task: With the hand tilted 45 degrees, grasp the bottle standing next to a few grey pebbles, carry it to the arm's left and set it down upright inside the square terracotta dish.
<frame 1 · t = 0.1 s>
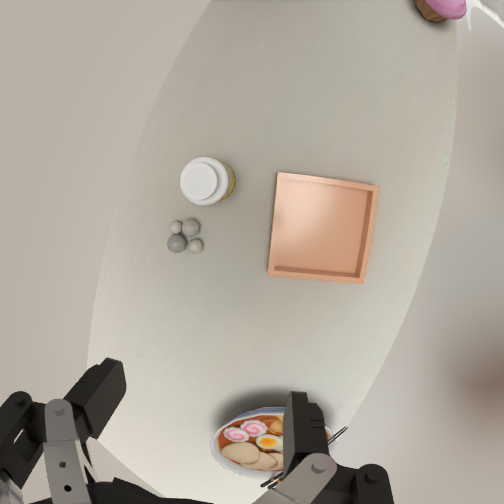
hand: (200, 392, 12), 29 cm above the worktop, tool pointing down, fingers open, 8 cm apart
ramen bowl: (273, 424, 49), on the worktop
pebbles: (188, 235, 40), on the worktop
terracotta dish: (321, 227, 39), on the worktop
cupcake: (426, 12, 28), on the worktop
supplement bottle: (216, 180, 38), on the worktop
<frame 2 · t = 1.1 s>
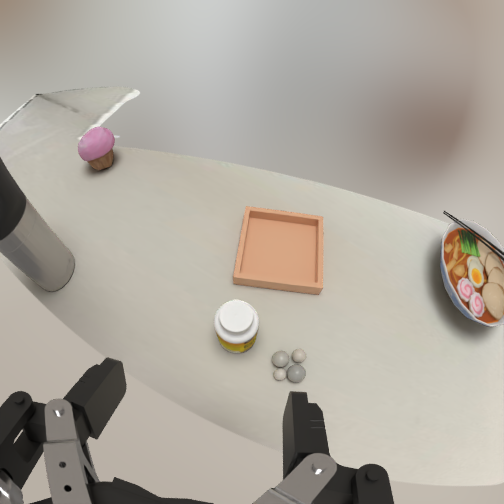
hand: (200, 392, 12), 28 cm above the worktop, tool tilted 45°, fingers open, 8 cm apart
ramen bowl: (462, 285, 46), on the worktop
pebbles: (288, 365, 39), on the worktop
terracotta dish: (280, 252, 48), on the worktop
cupcake: (104, 165, 59), on the worktop
supplement bottle: (237, 336, 41), on the worktop
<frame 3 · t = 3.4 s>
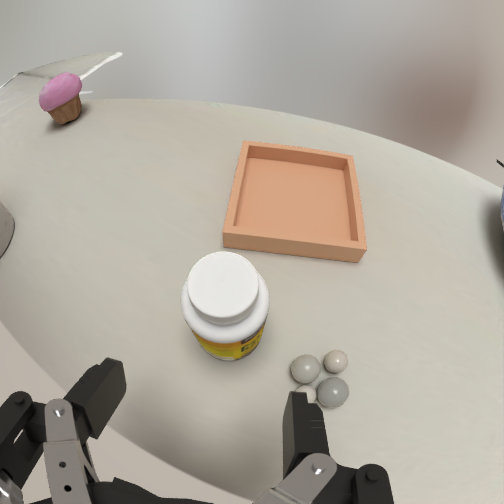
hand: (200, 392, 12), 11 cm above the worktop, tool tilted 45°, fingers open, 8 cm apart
pebbles: (318, 378, 22), on the worktop
terracotta dish: (295, 202, 31), on the worktop
cupcake: (70, 119, 42), on the worktop
supplement bottle: (229, 331, 24), on the worktop
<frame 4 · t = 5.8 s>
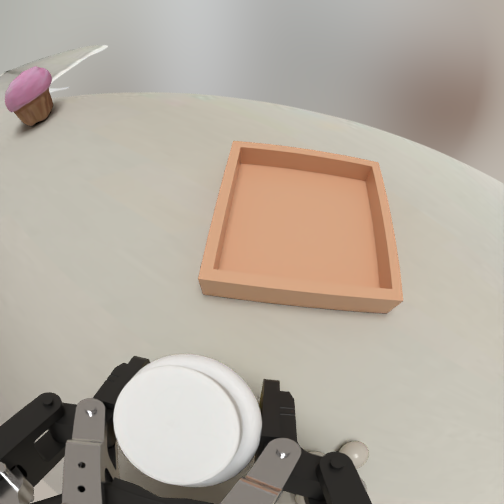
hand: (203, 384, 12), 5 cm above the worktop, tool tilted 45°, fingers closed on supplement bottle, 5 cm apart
pebbles: (328, 472, 14), on the worktop
terracotta dish: (303, 226, 23), on the worktop
cupcake: (40, 119, 34), on the worktop
supplement bottle: (210, 414, 16), on the worktop, touching gripper
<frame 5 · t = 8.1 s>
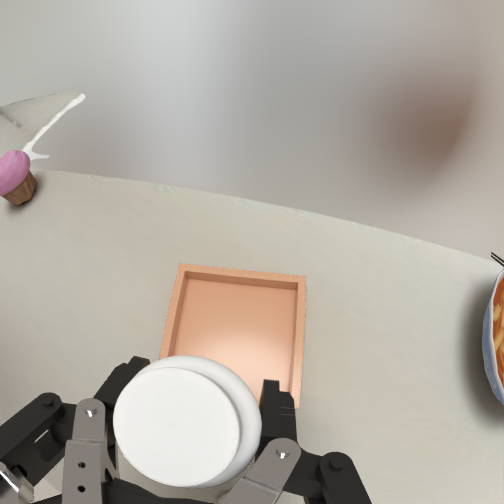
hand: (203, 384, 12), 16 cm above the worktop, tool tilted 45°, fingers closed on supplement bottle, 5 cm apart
ramen bowl: (502, 352, 27), on the worktop
terracotta dish: (234, 338, 29), on the worktop
cupcake: (26, 196, 40), on the worktop
supplement bottle: (210, 415, 16), point 11 cm above the worktop, touching gripper
when the fingers open (7 cm above the worktop, at t = 10.8 s): supplement bottle drops 1 cm, resting on terracotta dish.
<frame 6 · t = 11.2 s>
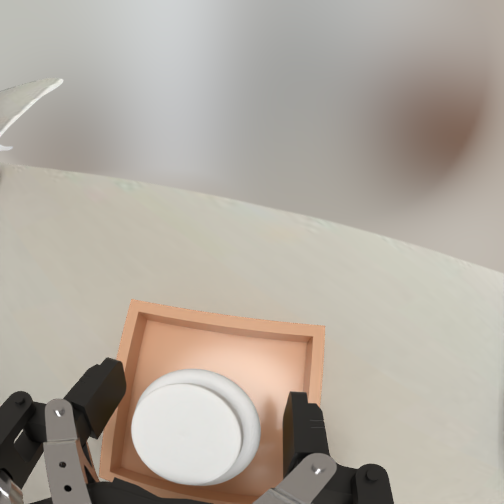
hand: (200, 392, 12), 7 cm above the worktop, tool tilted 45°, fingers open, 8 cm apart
terracotta dish: (213, 413, 17), on the worktop
supplement bottle: (213, 417, 17), resting on terracotta dish
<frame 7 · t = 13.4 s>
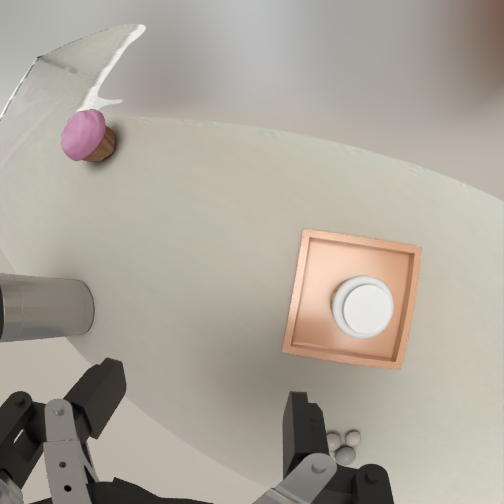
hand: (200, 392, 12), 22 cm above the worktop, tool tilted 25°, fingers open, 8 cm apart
pebbles: (340, 442, 29), on the worktop
terracotta dish: (353, 300, 31), on the worktop
cupcake: (107, 149, 44), on the worktop
supplement bottle: (354, 302, 30), resting on terracotta dish
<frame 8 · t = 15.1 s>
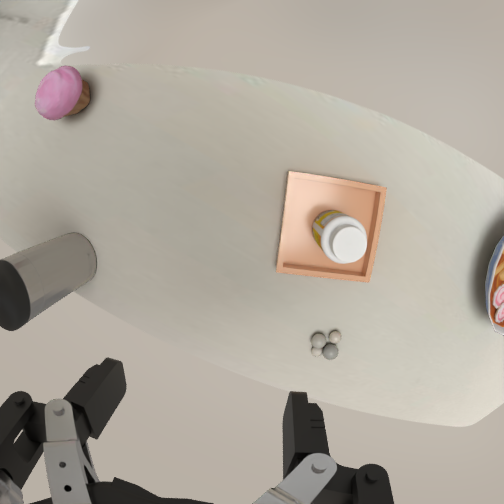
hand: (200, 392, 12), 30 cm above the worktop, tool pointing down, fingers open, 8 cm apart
ramen bowl: (503, 266, 39), on the worktop
pebbles: (325, 340, 44), on the worktop
terracotta dish: (329, 226, 39), on the worktop
cupcake: (81, 100, 37), on the worktop
supplement bottle: (330, 228, 39), resting on terracotta dish
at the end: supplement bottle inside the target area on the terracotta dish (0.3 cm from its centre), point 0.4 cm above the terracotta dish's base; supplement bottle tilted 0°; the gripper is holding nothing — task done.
